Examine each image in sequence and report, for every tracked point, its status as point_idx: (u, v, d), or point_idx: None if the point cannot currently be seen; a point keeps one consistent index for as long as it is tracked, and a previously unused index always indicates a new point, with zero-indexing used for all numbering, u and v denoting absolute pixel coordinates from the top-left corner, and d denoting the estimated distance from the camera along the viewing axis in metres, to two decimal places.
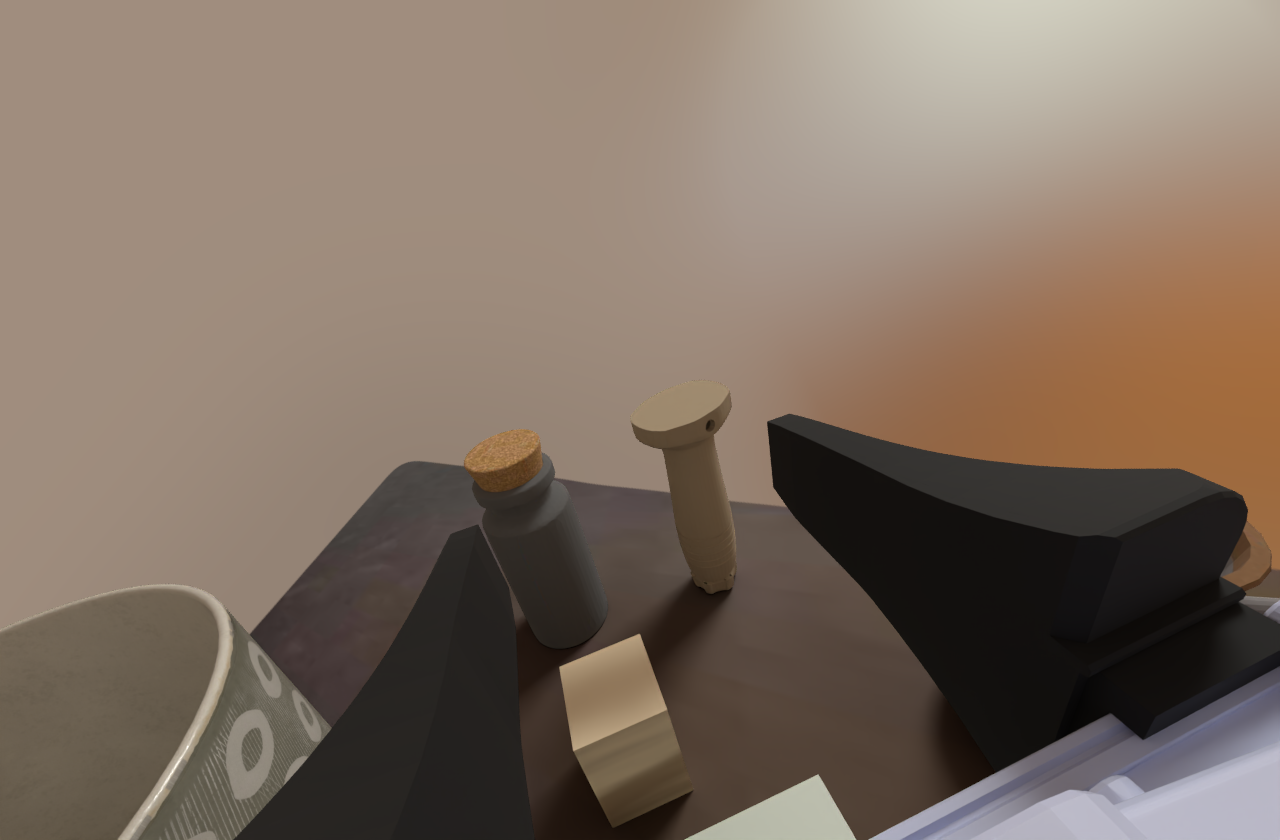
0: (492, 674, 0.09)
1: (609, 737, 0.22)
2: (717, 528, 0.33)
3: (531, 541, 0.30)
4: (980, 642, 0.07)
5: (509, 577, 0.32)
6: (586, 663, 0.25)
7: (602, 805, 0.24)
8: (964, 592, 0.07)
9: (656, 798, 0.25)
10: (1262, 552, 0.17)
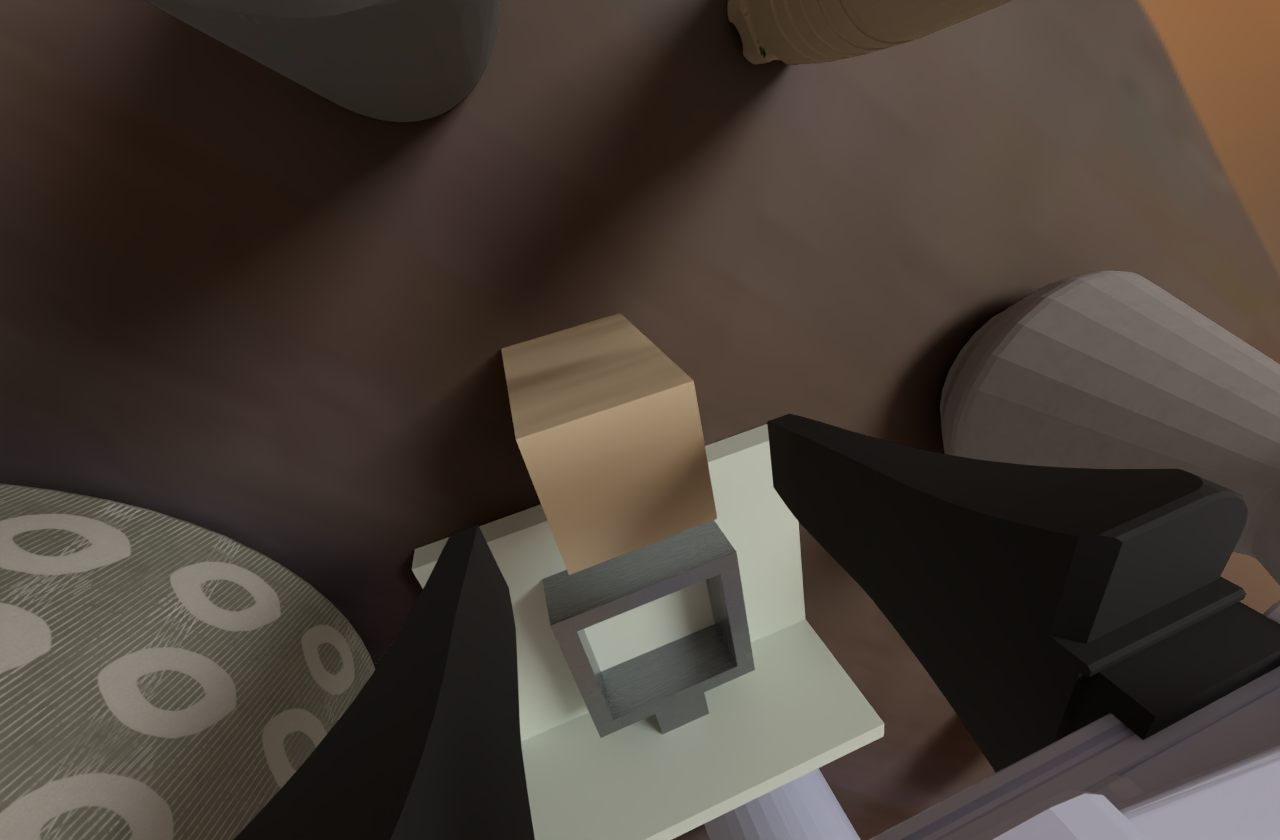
0: (492, 674, 0.09)
1: (623, 549, 0.14)
2: (940, 29, 0.11)
3: (336, 27, 0.06)
4: (980, 642, 0.07)
5: None
6: (578, 436, 0.12)
7: None
8: (964, 592, 0.07)
9: None
10: None
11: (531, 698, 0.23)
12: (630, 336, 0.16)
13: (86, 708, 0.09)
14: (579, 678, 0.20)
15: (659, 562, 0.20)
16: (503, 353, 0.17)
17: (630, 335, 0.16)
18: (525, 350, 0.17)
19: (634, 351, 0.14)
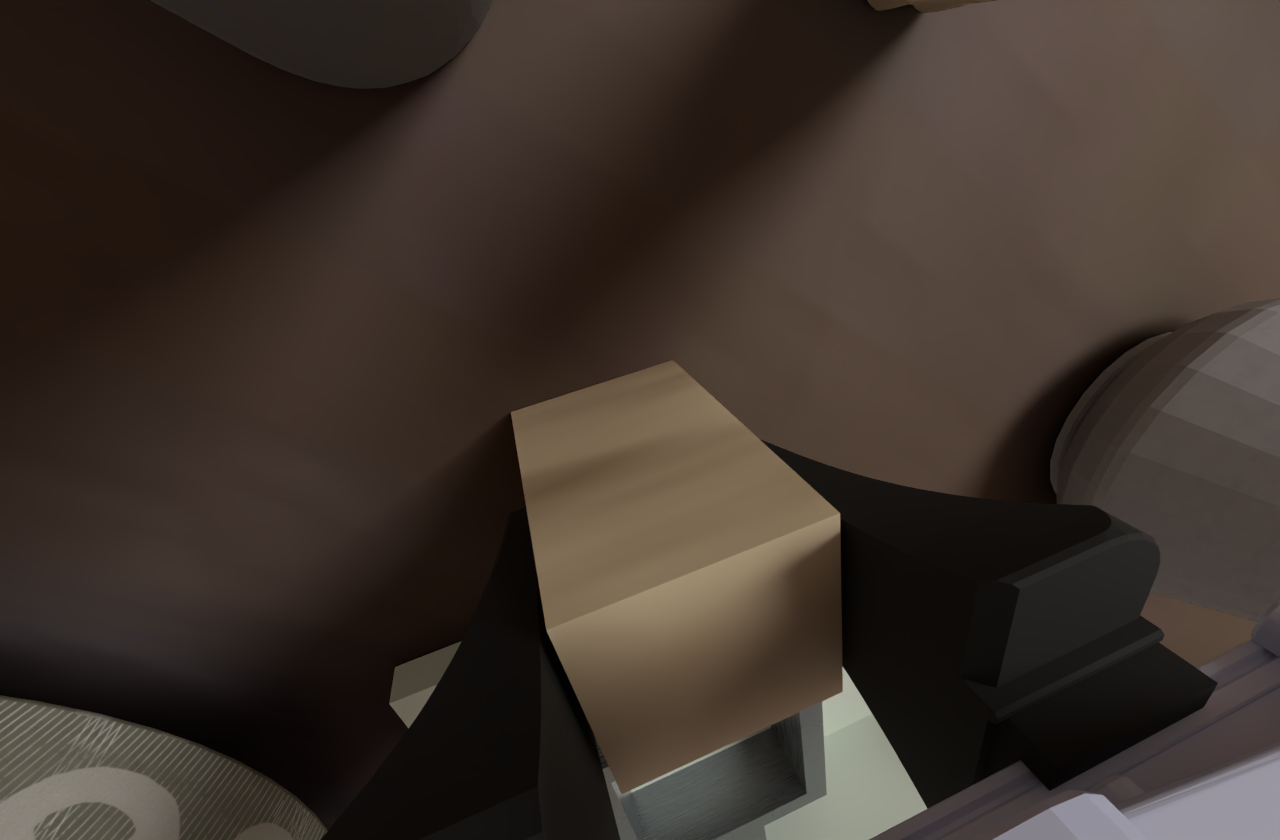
0: None
1: (702, 745, 0.09)
2: None
3: None
4: (905, 677, 0.07)
5: None
6: (651, 613, 0.07)
7: None
8: (888, 626, 0.07)
9: None
10: None
11: None
12: (699, 404, 0.11)
13: None
14: None
15: None
16: (514, 421, 0.12)
17: (698, 402, 0.11)
18: (545, 418, 0.12)
19: (714, 435, 0.10)
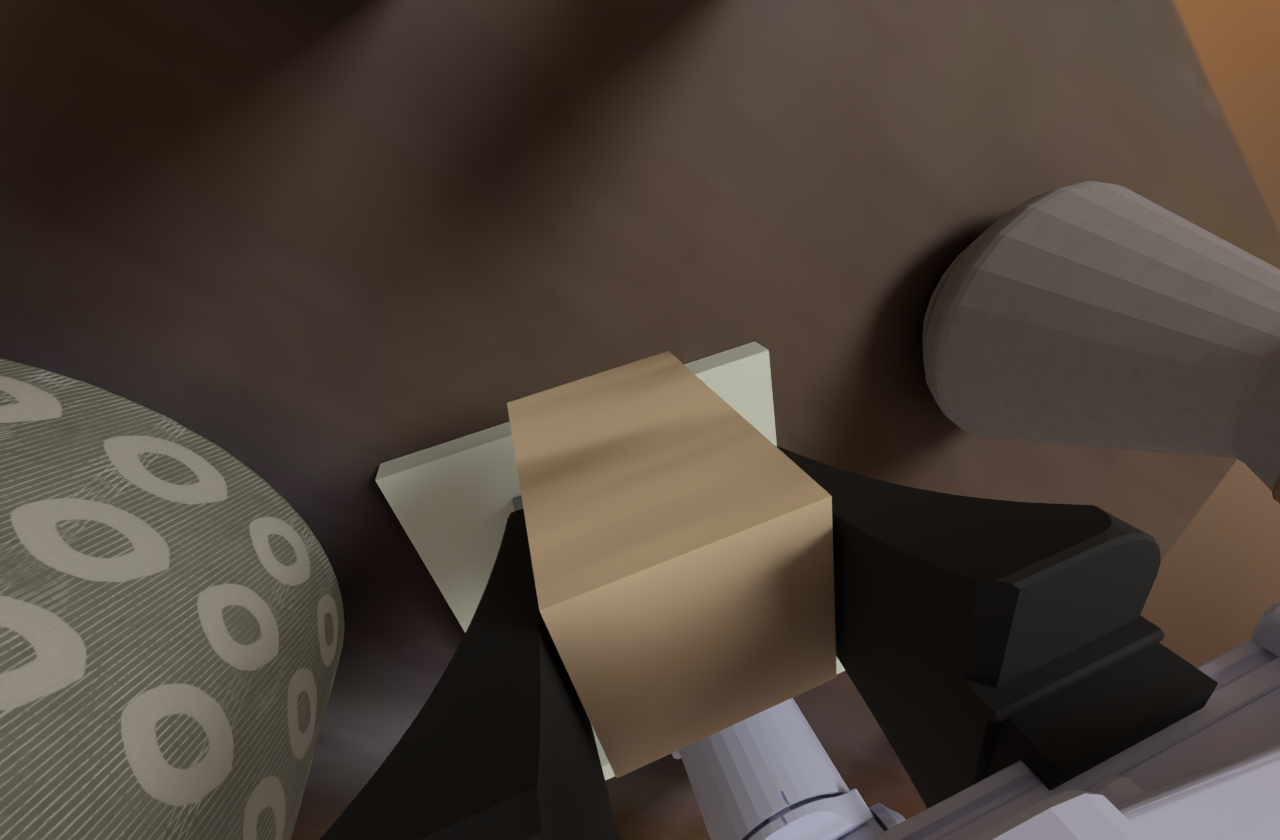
0: None
1: (697, 730, 0.09)
2: None
3: None
4: (905, 677, 0.07)
5: None
6: (644, 595, 0.07)
7: None
8: (888, 626, 0.07)
9: None
10: None
11: None
12: (694, 393, 0.11)
13: None
14: None
15: None
16: (510, 412, 0.12)
17: (693, 391, 0.11)
18: (540, 408, 0.12)
19: (708, 423, 0.10)
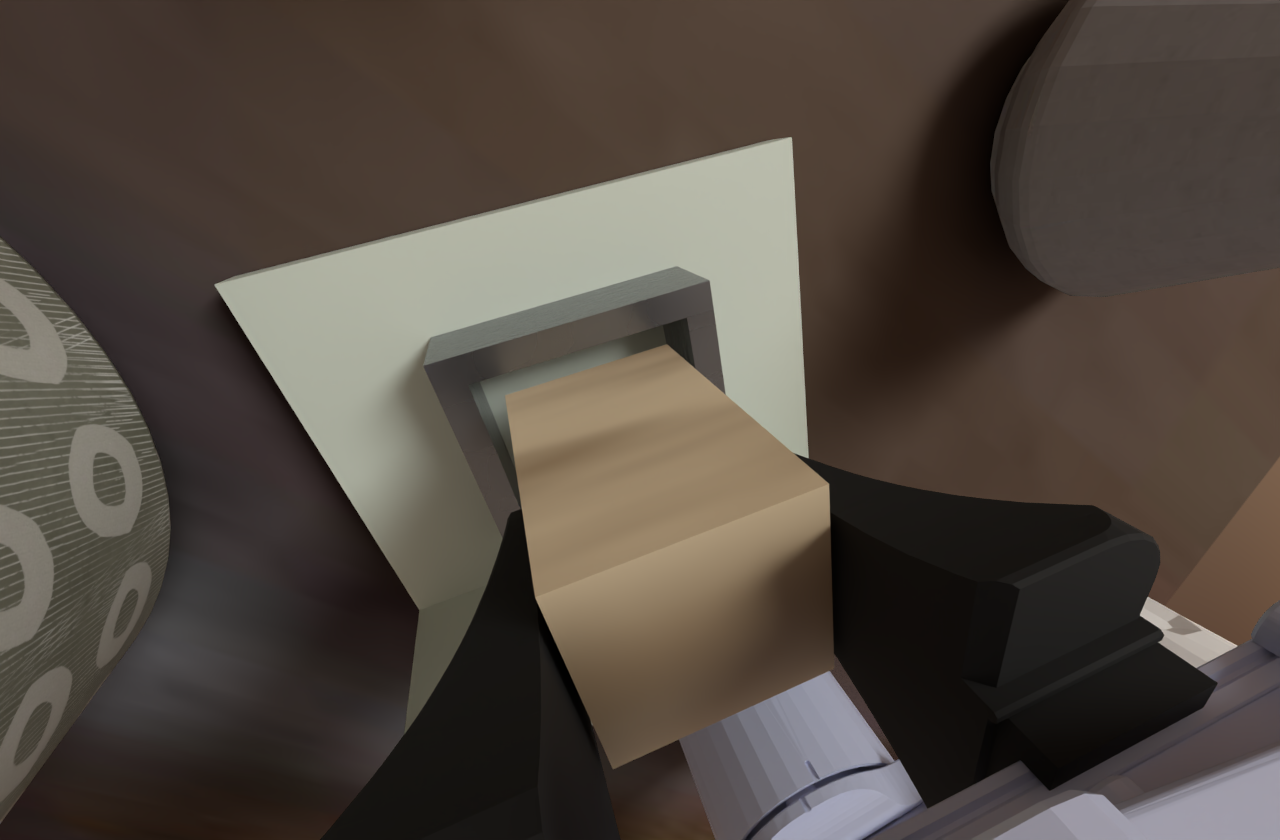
0: None
1: (694, 721, 0.09)
2: None
3: None
4: (905, 678, 0.07)
5: None
6: (640, 583, 0.07)
7: None
8: (888, 626, 0.07)
9: None
10: None
11: (434, 540, 0.17)
12: (692, 385, 0.11)
13: None
14: (480, 473, 0.14)
15: (597, 303, 0.14)
16: (508, 404, 0.12)
17: (691, 383, 0.11)
18: (538, 400, 0.12)
19: (705, 413, 0.10)
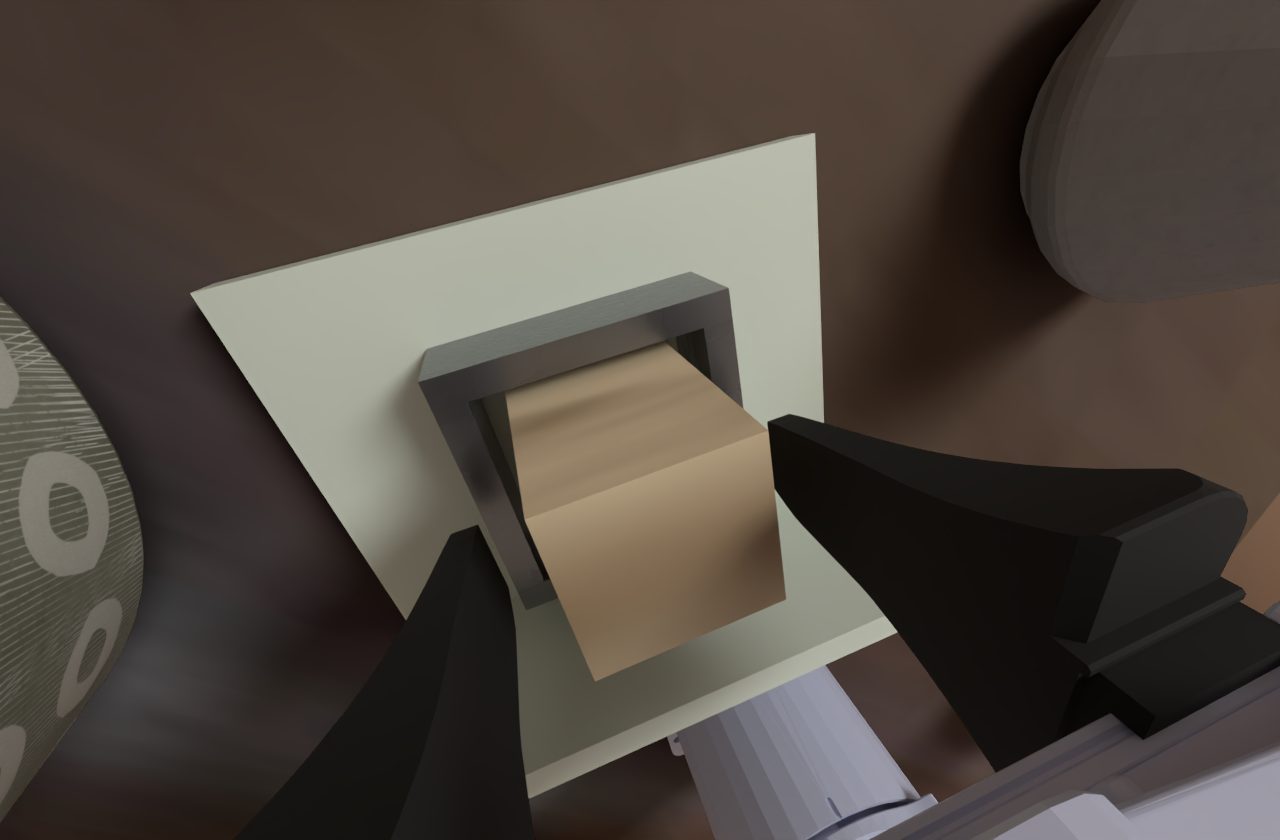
0: (492, 674, 0.09)
1: (665, 643, 0.11)
2: None
3: None
4: (980, 642, 0.07)
5: None
6: (611, 511, 0.08)
7: None
8: (964, 592, 0.07)
9: None
10: None
11: (431, 562, 0.16)
12: (666, 359, 0.12)
13: None
14: (481, 496, 0.13)
15: (607, 312, 0.13)
16: None
17: (665, 357, 0.12)
18: None
19: (675, 381, 0.11)
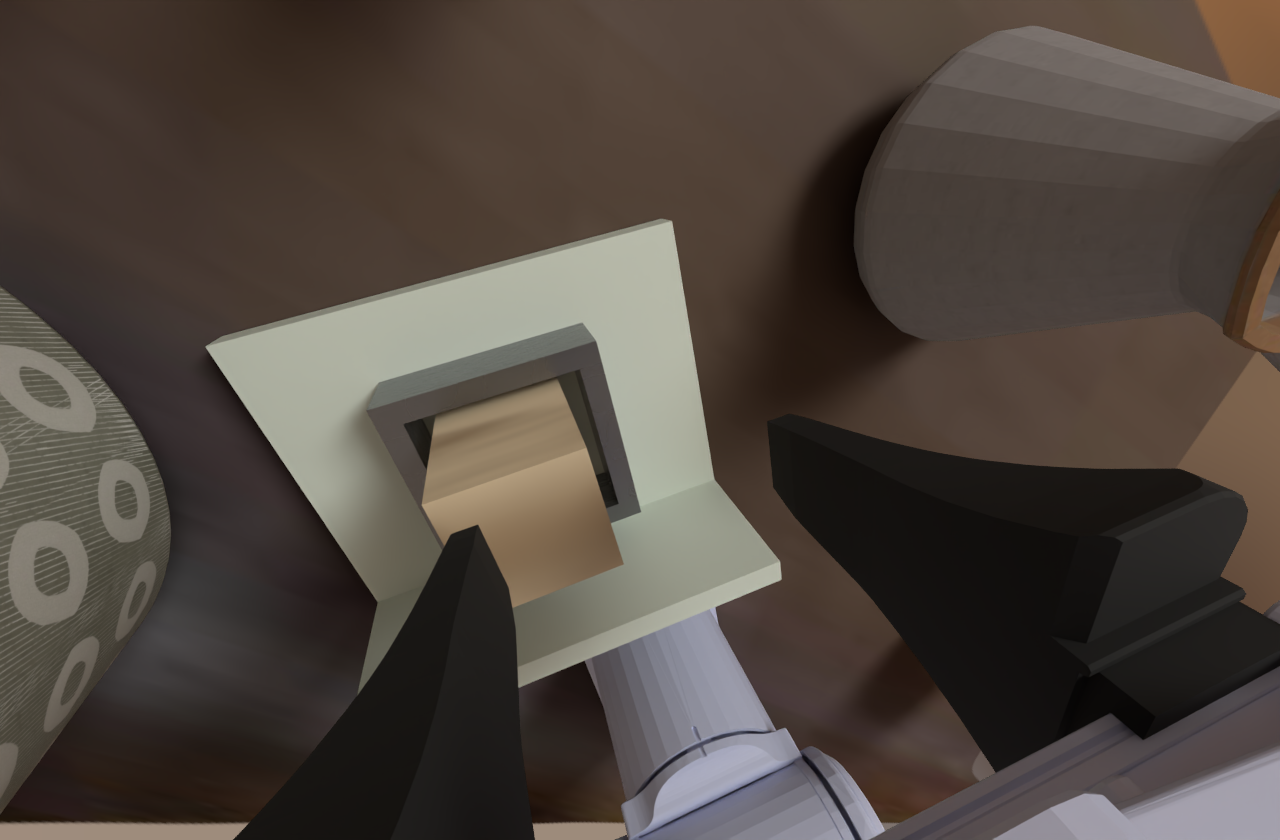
0: (491, 675, 0.09)
1: (536, 594, 0.15)
2: None
3: None
4: (980, 642, 0.07)
5: None
6: (481, 500, 0.13)
7: None
8: (964, 592, 0.07)
9: None
10: None
11: (388, 544, 0.21)
12: (551, 392, 0.17)
13: None
14: (417, 492, 0.17)
15: (509, 357, 0.17)
16: None
17: (551, 391, 0.17)
18: None
19: (548, 410, 0.16)
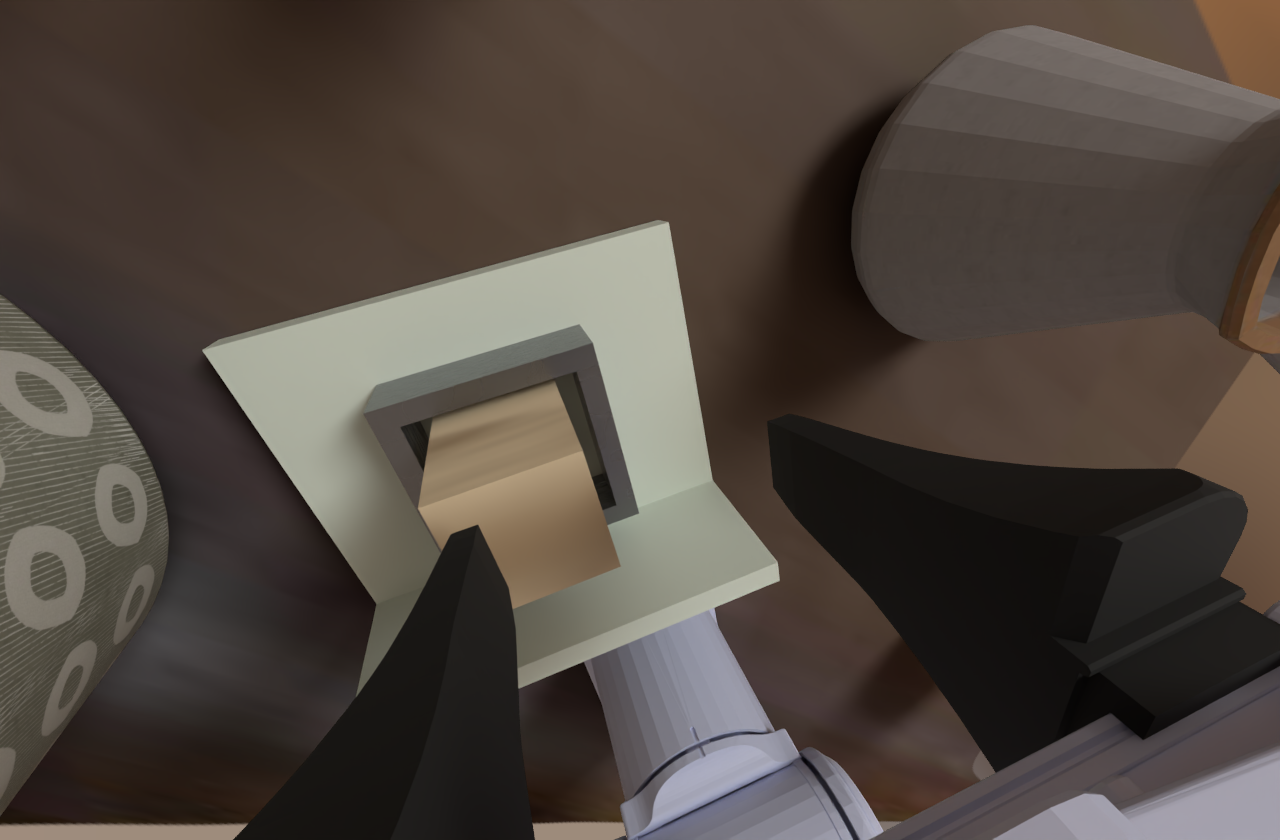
0: (491, 675, 0.09)
1: (533, 596, 0.15)
2: None
3: None
4: (980, 642, 0.07)
5: None
6: (477, 503, 0.13)
7: None
8: (964, 592, 0.07)
9: None
10: None
11: (386, 546, 0.21)
12: (548, 394, 0.17)
13: None
14: (414, 494, 0.17)
15: (506, 359, 0.17)
16: None
17: (548, 393, 0.17)
18: None
19: (545, 412, 0.16)
